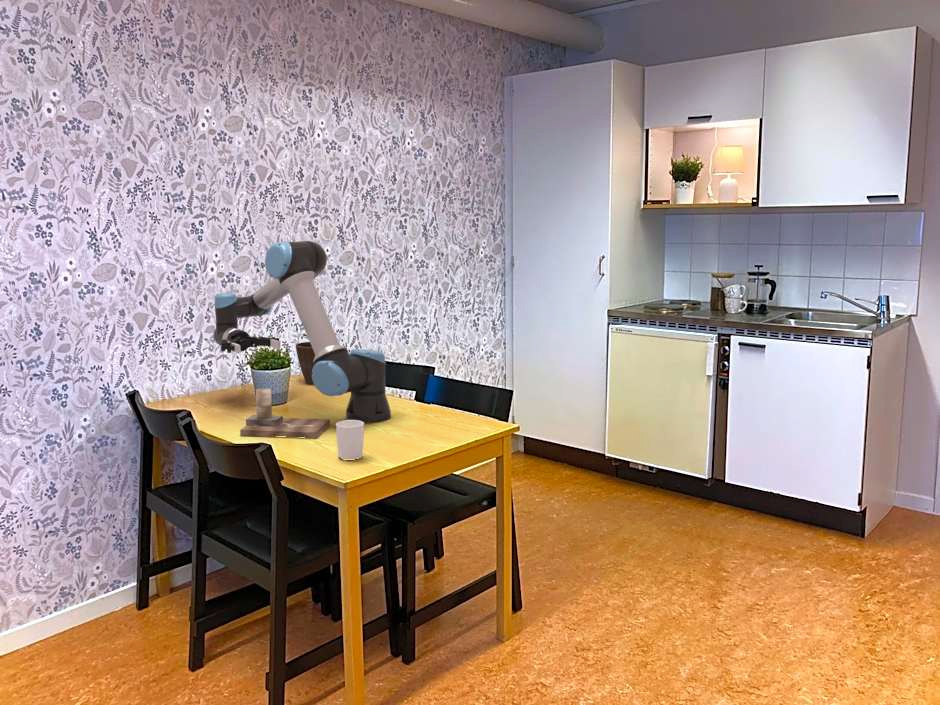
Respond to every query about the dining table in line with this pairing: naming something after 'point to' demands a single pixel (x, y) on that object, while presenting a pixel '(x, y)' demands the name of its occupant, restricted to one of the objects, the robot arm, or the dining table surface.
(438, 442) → the dining table surface
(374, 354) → the robot arm
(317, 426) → the walnut board
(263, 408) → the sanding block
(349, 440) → the white cup
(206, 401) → the dining table surface
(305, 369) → the plant pot
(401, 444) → the dining table surface
